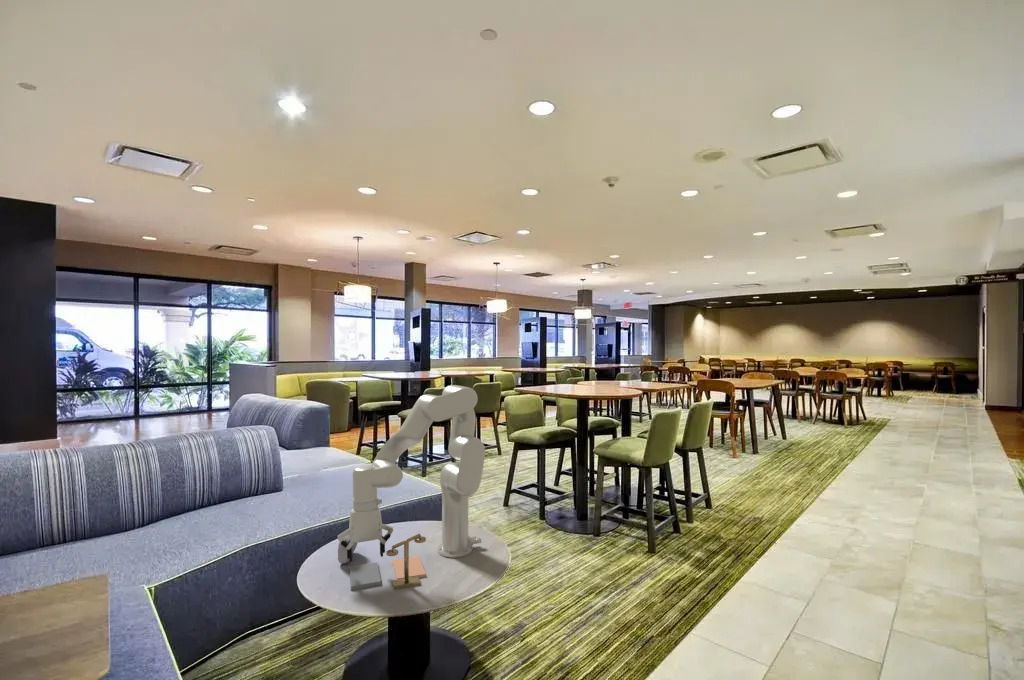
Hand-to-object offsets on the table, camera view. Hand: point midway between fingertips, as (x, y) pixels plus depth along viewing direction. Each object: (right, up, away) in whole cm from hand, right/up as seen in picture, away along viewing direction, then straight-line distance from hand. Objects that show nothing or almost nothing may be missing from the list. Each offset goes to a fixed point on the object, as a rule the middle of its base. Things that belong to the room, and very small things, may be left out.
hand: (366, 557), depth 155 cm
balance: (+14, -6, -5) cm, 16 cm away
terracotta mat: (+13, -6, +4) cm, 15 cm away
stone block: (-10, -7, +13) cm, 17 cm away
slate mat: (0, -6, 0) cm, 6 cm away
